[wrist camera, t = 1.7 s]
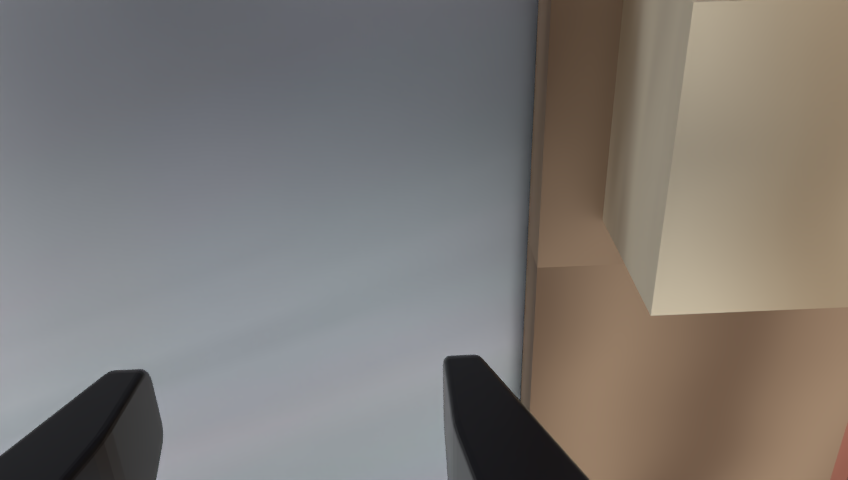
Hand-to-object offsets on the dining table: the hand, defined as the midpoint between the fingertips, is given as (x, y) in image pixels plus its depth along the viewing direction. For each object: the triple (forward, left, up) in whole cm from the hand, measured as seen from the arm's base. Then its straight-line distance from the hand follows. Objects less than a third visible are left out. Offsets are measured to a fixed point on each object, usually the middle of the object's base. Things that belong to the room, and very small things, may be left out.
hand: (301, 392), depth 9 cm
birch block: (+9, 0, -10) cm, 13 cm away
